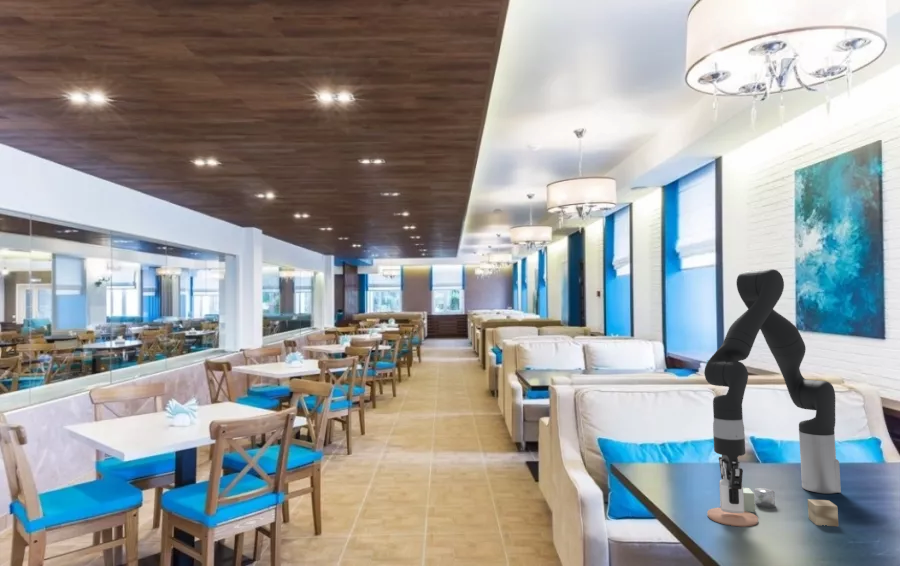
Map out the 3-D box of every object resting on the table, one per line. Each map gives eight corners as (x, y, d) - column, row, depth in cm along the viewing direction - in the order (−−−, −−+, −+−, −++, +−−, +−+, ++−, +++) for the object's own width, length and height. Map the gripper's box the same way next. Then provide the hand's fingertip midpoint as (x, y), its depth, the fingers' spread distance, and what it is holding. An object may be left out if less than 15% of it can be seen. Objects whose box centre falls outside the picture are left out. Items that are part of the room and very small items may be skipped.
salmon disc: (749, 511, 152) (749, 508, 153) (764, 528, 141) (764, 524, 141) (702, 509, 155) (702, 506, 155) (713, 525, 143) (713, 521, 143)
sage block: (749, 506, 157) (748, 488, 158) (755, 512, 153) (754, 493, 153) (730, 505, 159) (729, 487, 159) (735, 511, 154) (734, 492, 154)
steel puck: (771, 502, 160) (770, 488, 160) (777, 508, 155) (777, 493, 155) (752, 501, 161) (751, 487, 161) (758, 507, 156) (757, 492, 156)
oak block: (829, 519, 146) (828, 500, 146) (838, 526, 141) (837, 506, 142) (808, 518, 147) (807, 499, 148) (816, 525, 142) (815, 505, 143)
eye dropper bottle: (739, 515, 144) (736, 468, 145) (717, 510, 149) (715, 464, 150) (747, 512, 147) (744, 465, 148) (725, 506, 152) (723, 461, 152)
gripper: (752, 441, 142) (756, 510, 141) (736, 430, 155) (739, 493, 154) (720, 440, 143) (723, 509, 142) (707, 429, 157) (710, 492, 156)
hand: (731, 500), depth 148 cm, fingers closed on eye dropper bottle, 3 cm apart
